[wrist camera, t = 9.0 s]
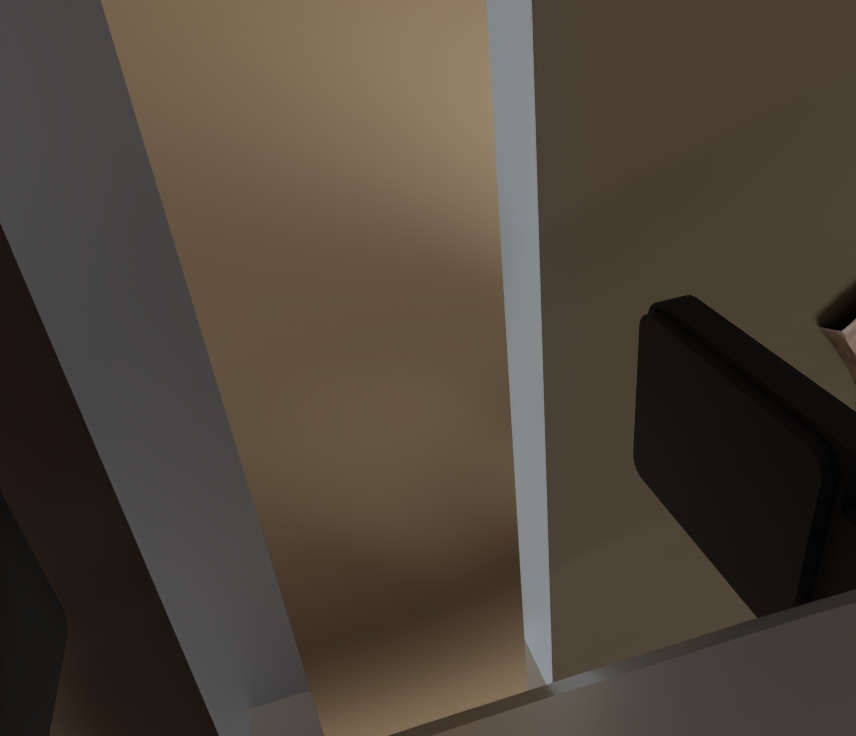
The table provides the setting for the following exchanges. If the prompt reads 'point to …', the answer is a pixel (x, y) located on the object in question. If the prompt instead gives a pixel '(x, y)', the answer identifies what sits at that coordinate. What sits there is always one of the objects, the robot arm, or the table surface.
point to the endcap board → (188, 358)
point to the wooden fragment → (845, 345)
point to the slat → (351, 324)
